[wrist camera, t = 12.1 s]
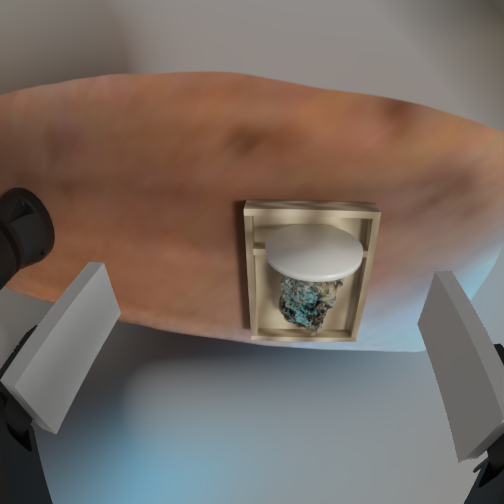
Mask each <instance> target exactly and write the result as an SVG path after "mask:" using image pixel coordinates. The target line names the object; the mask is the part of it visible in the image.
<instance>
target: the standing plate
mask: <svg viewBox="0 0 504 504" xmlns="http://www.w3.org/2000/svg"><path fill="white" fill-rule="evenodd" d="M265 256H266V259H267V261H268V263H269V264H270V266H272V267H273V268H274V269H275V270H276V271H278V272H280V273H281V274H283V275H286V276H288V277H291V278H294V279H298V280H302V281H309V282H327V281H334V280H339V279H342V278H345V277H347V276H349V275H351V274H353V273H354V272H355V271H356V270H357V269H358V268H359V267H360V265H361V262H362V257H363V247H362V245H361V243H360V242H359V241H358V240H357V239H356V238H355V237H354V236H353V235H351V234H349V233H348V232H346V231H344V230H341V229H338V228H335V227H331V226H327V225H320V224H300V225H293V226H289V227H285V228H283V229H280V230H278V231H276V232H275V233H273V234H272V235H271V236H270V237H269V238H268V239H267V241H266V244H265Z"/></svg>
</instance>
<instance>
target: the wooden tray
mask: <svg viewBox="0 0 504 504" xmlns="http://www.w3.org/2000/svg"><path fill="white" fill-rule="evenodd" d="M380 215H381V212H380V210H379V208H378V206H377V205H376V203H357V202H330V201H288V200H246V203H245V206H244V223H245V241H246V258H247V275H248V292H249V309H250V325H251V340H268V341H304V342H356V338H357V334H358V330H359V326H360V322H361V317H362V313H363V309H364V304H365V299H366V295H367V290H368V285H369V280H370V275H371V270H372V264H373V259H374V253H375V247H376V241H377V235H378V229H379V222H380ZM300 224H320V225H327V226H331V227H335V228H338V229H341V230H344V231H346V232H348V233H349V234H351V235H353V236H354V237H355V238H356V239H357V240H358V241H359V242H360V243H361V245H362V247H363V257H362V262H361V265H360V267H359V268H358V269H357V270H356V271H355V272H354V273H353V274H351V275H349V276H347V277H345V281H343V286H342V287H340V288H338V289H337V293H336V295H335V296H336V301H335V302H336V305H335V307H334V308H330V309H328V310H327V313H326V316H325V318H324V319H323V321H324V322H323V325H322V329H321V330H320V331H319V332H318V333H317V334H315V335H311V333H310V332H309V331H307V330H306V328H303V327H300V328H298V327H297V326H296V325H294V324H292V323H289V322H287V321H286V320H285V319H284V316H283V315H282V314H281V312H280V310H279V299H280V297H281V296H282V290H281V287H280V281H281V279H282V276H283V274H281V273H280V272H278V271H276V270H275V269H274V268H273V267H272V266H270V264H269V263H268V261H267V259H266V256H265V244H266V241H267V239H268V238H269V237H270V236H271V235H272V234H273V233H275V232H276V231H278V230H280V229H283V228H285V227H289V226H293V225H300Z"/></svg>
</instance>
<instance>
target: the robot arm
mask: <svg viewBox="0 0 504 504" xmlns="http://www.w3.org/2000/svg"><path fill="white" fill-rule="evenodd" d="M53 245H54V229H53V225H52V221H51V219H50V216H49V214H48V212H47V210H46V209H45V207H44V205H43V204H42V203H41V201H40V200H39V199H38V198H37V197H36V196H35V195H34V194H32V193H31V192H29V191H28V190H25V189H22V188H14V189H12V190H10V191H8V192H7V193H5V194H4V195H3V196H2V197H1V198H0V290H1V289H2V288H3V287H4V286H5V285H6V283H7V282H8V281H9V280H10V279H11V278H12V277H13V276H14V275H15V274H16V273H17V272H18V271H19V270H21V269H23V268H25V267H28V266H30V265H33V264H35V263H38V262H40V261H41V260H43V259H44V258H45V257H46V256H47V255H48V254H49V253H50V252H51V250H52V248H53ZM120 314H121V312H120V309H119V306H118V304H117V301H116V298H115V295H114V292H113V289H112V286H111V283H110V280H109V277H108V274H107V271H106V268H105V265H104V263H102V262H89V263H88V264H87V265H86V266H85V268H84V269H83V270H82V271H81V272H80V274H79V275H78V276H77V277H76V278H75V279H74V281H73V282H72V283H71V284H70V286H69V287H68V288H67V289H66V290H65V292H64V293H63V294H62V295H61V297H60V298H59V299H58V300H57V302H56V303H55V304H54V306H53V307H52V308H51V309H50V311H49V312H48V313H47V314H46V316H45V317H44V318H43V320H42V321H41V322H40V324H39V325H36V326H34V327H33V328H32V329H31V330H30V331H29V332H27V333H26V334H25V335H24V337H23V338H22V340H21V341H20V342H19V345H17V346H16V348H15V349H14V352H12V353H11V355H10V356H9V358H8V359H7V361H6V362H5V364H4V365H3V367H2V368H1V369H0V504H53V503H52V500H51V497H50V494H49V490H48V487H47V484H46V480H45V476H44V473H43V469H42V465H41V461H40V457H39V452H38V448H37V443H36V438H35V433H34V430H33V427H32V426H31V425H30V424H31V422H32V420H34V421H35V422H36V423H37V424H38V425H39V426H40V427H41V428H43V429H45V430H47V431H50V432H52V433H54V434H57V432H58V430H59V427H60V425H61V423H62V421H63V419H64V417H65V415H66V413H67V411H68V409H69V407H70V405H71V403H72V401H73V399H74V397H75V395H76V393H77V392H78V390H79V388H80V386H81V384H82V382H83V380H84V378H85V376H86V374H87V373H88V371H89V369H90V367H91V365H92V363H93V361H94V360H95V358H96V356H97V354H98V352H99V351H100V349H101V347H102V345H103V343H104V342H105V340H106V338H107V336H108V335H109V333H110V331H111V329H112V328H113V326H114V324H115V323H116V321H117V319H118V318H119V316H120ZM418 327H419V330H420V332H421V335H422V338H423V340H424V343H425V346H426V349H427V351H428V354H429V357H430V361H431V363H432V367H433V369H434V372H435V375H436V379H437V382H438V385H439V389H440V392H441V395H442V398H443V402H444V405H445V409H446V413H447V416H448V420H449V424H450V428H451V432H452V436H453V440H454V444H455V449H456V453H457V457H458V462H459V463H462V462H465V461H469V460H472V459H476V458H478V457H479V456H480V455H481V454H483V453H484V452H485V451H486V450H487V453H488V457H487V458H486V459H485V460H484V461H483V462H481V463H480V464H479V465H478V466H477V467H476V468H475V469H474V471H473V472H474V473H475V472H477V471H478V470H479V469H481V470H480V472H479V474H478V476H477V479H476V481H475V483H474V485H473V487H472V489H471V491H470V493H469V495H468V497H467V499H466V500H465V502H464V504H504V347H503V346H502V345H501V344H493V343H492V341H491V339H490V337H489V335H488V333H487V331H486V329H485V328H484V326H483V324H482V322H481V320H480V318H479V317H478V315H477V313H476V311H475V309H474V308H473V306H472V304H471V302H470V301H469V299H468V297H467V296H466V294H465V292H464V291H463V289H462V287H461V286H460V284H459V282H458V281H457V279H456V278H455V276H454V274H453V273H452V271H435V273H434V277H433V280H432V283H431V286H430V289H429V292H428V295H427V298H426V301H425V304H424V307H423V310H422V313H421V316H420V318H419V321H418Z"/></svg>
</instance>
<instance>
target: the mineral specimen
mask: <svg viewBox="0 0 504 504" xmlns="http://www.w3.org/2000/svg"><path fill="white" fill-rule="evenodd" d="M343 281H345V278H342V279H339V280H334V281H327V282H309V281H302V280H298V279H294V278H291V277H288V276H286V275H283V276H282V279H281V281H280V287H281V290H282V296H281V297H280V299H279V310H280V312H281V314H282V315H283V316H284V319H285V320H286V321H287V322H289V323H292V324H294V325H296V326H297V327H298V328H300V327H303V328H306V330H307V331H309V332H310V333H311V335H315V334H317V333H318V332H319V331H320V330H321V329H322V325H323V322H324V321H323V319H324V318H325V316H326V313H327V310H328V309H330V308H334V307H335V305H336V302H335V301H336V296H335V295H336V293H337V289H338V288H340V287H342V286H343Z"/></svg>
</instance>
